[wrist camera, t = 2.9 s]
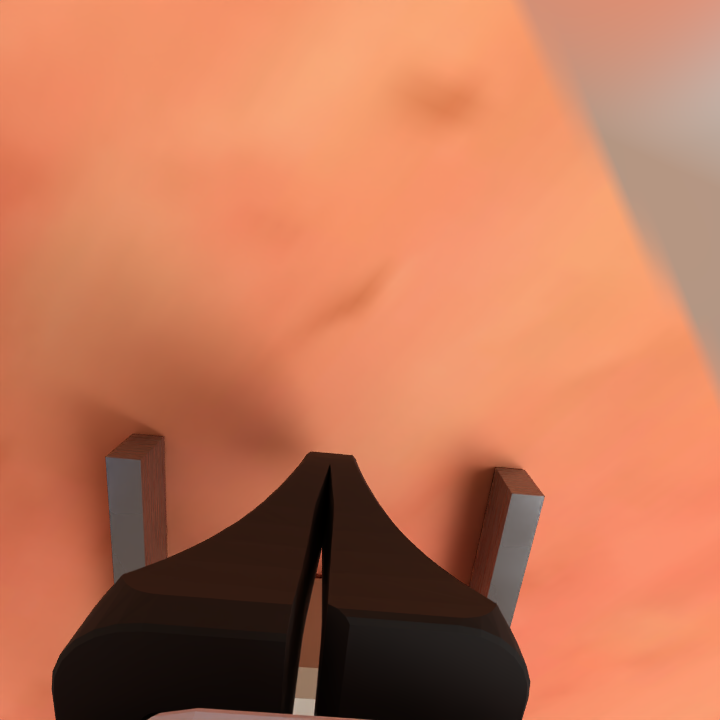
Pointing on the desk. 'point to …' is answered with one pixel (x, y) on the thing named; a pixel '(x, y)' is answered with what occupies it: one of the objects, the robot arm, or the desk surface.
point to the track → (149, 538)
